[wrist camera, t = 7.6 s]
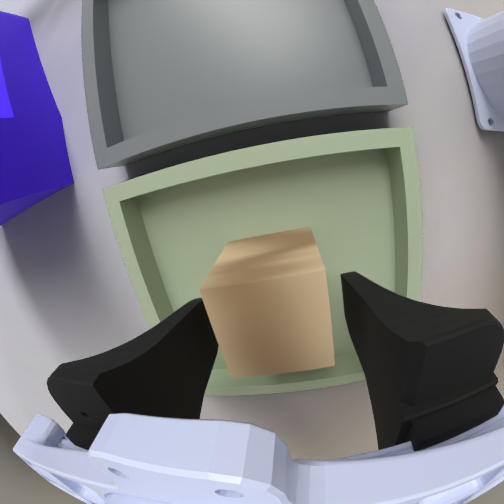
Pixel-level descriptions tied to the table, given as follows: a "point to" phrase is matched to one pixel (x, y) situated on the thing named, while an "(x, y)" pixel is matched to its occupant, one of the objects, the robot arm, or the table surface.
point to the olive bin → (277, 229)
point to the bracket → (27, 124)
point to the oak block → (270, 305)
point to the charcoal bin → (227, 68)
